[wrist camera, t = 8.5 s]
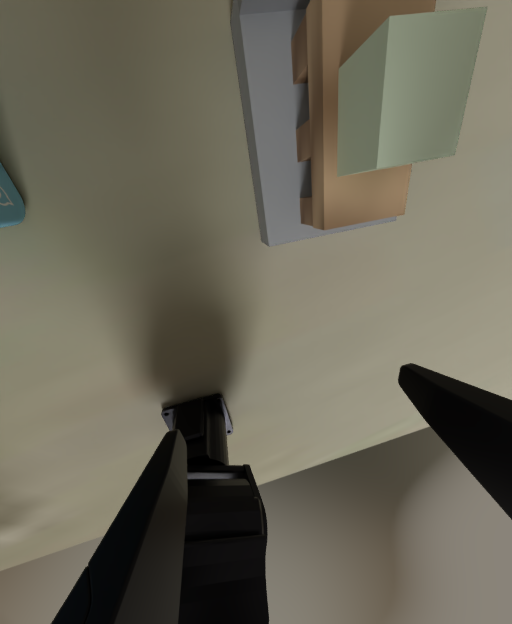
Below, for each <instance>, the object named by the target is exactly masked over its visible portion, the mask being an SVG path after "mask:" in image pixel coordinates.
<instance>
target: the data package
mask: <svg viewBox="0 0 512 624" xmlns="http://www.w3.org/2000/svg"><path fill="white" fill-rule="evenodd" d="M24 217H25V206H24V203H23V200H22V198H21V196H20V195H19V193H18V191H17V189H16V188H15V186H14V184H13V183H12V181H11V179H10V178H9V176H8V174H7V173H6V171H5V169H4V168H3V166H2V164H1V162H0V228H1V227H7V226H12V225H17V224H19V223H21V222H22V221H23V219H24Z"/></svg>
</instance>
